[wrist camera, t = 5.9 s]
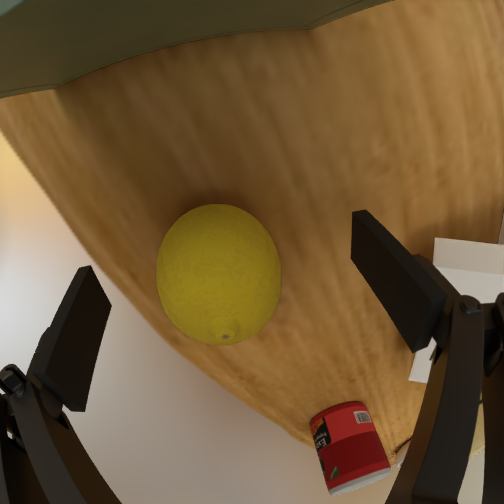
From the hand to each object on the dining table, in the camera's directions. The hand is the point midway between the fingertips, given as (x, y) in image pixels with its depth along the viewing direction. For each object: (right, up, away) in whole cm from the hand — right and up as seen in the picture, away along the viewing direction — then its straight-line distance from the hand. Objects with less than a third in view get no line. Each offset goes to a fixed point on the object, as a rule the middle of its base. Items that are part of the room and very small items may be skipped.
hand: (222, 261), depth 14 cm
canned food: (+13, -21, +20) cm, 31 cm away
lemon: (-1, +2, +3) cm, 4 cm away
